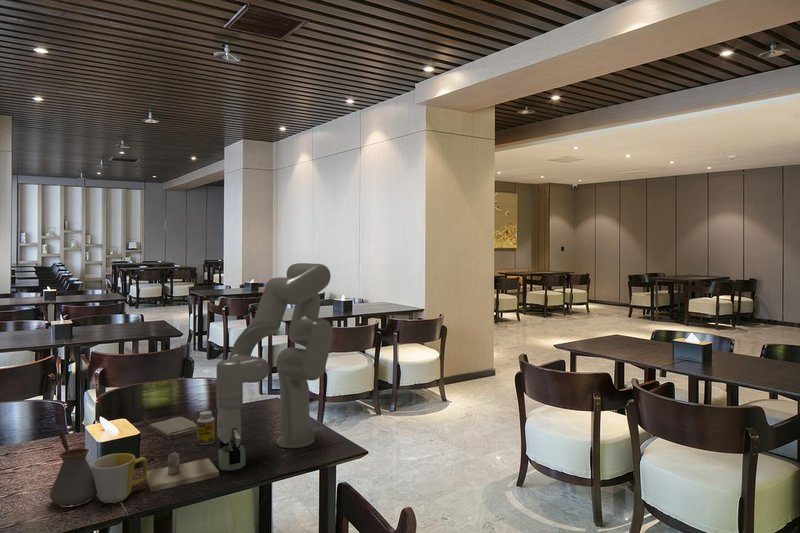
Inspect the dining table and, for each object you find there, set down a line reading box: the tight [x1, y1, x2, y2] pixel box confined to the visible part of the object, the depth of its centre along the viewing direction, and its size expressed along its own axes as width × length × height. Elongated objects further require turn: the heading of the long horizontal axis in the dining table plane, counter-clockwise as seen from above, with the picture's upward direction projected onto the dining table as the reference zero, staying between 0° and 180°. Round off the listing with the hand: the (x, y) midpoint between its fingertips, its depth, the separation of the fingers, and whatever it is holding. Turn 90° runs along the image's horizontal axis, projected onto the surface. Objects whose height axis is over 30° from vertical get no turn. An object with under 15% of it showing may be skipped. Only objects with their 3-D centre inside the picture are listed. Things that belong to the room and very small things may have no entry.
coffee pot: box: [49, 430, 97, 506], centre depth 152 cm, size 21×12×15 cm, turn 42°
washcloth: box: [148, 416, 197, 440], centre depth 204 cm, size 12×18×3 cm, turn 46°
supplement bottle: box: [196, 410, 216, 446], centre depth 191 cm, size 6×6×10 cm
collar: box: [217, 444, 246, 472], centre depth 171 cm, size 7×7×5 cm
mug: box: [90, 452, 148, 504], centre depth 150 cm, size 14×10×10 cm
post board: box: [144, 451, 220, 493], centre depth 163 cm, size 18×12×8 cm, turn 122°
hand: (230, 458), depth 170 cm, fingers open, 9 cm apart
